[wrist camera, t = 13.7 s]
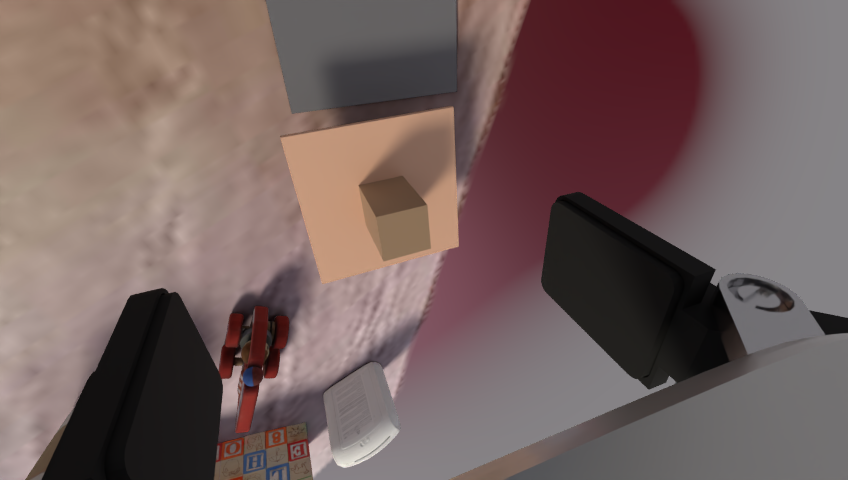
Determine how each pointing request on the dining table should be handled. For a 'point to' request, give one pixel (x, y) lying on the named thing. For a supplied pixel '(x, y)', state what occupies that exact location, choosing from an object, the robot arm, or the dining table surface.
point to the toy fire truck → (252, 357)
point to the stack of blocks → (266, 456)
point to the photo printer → (360, 415)
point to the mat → (364, 50)
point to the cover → (376, 190)
